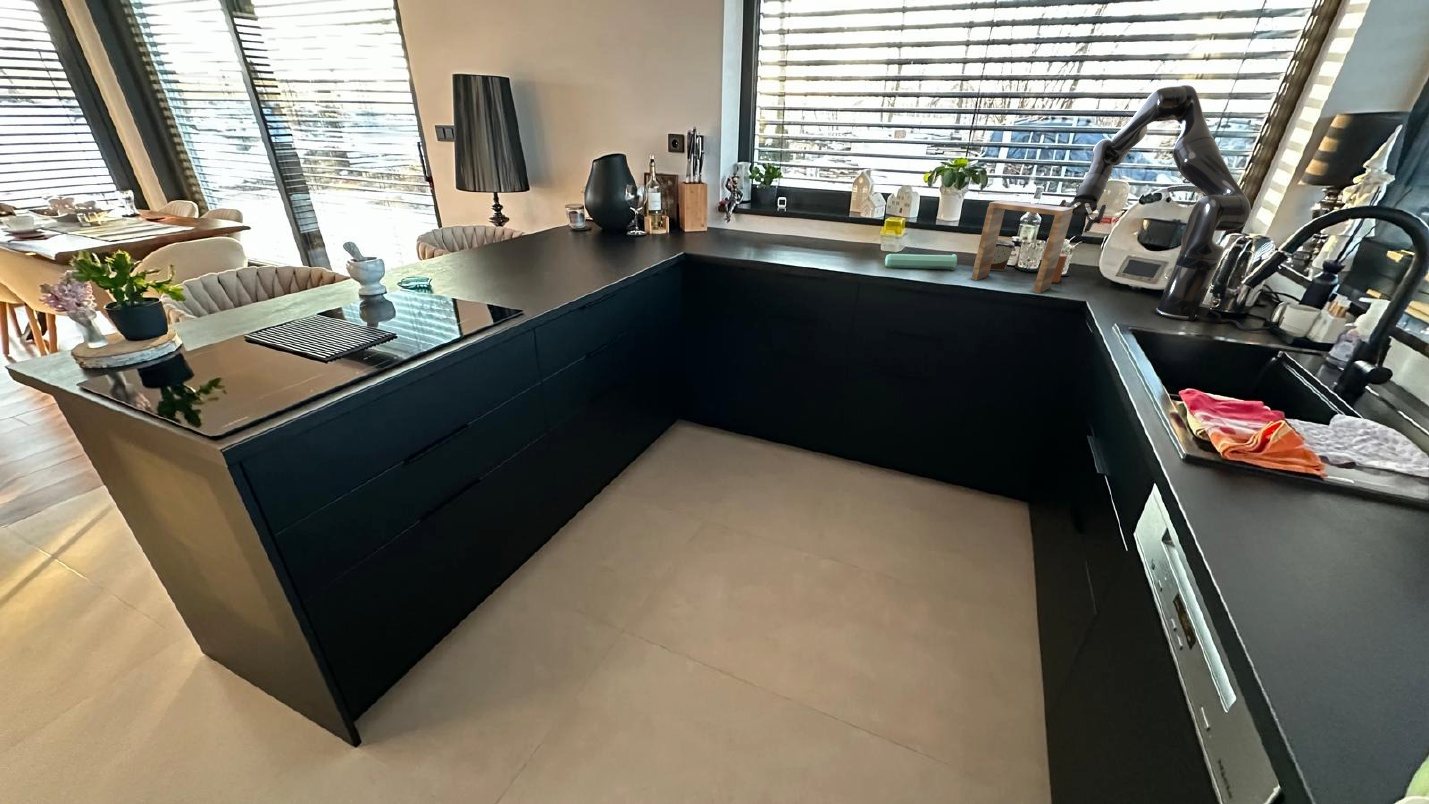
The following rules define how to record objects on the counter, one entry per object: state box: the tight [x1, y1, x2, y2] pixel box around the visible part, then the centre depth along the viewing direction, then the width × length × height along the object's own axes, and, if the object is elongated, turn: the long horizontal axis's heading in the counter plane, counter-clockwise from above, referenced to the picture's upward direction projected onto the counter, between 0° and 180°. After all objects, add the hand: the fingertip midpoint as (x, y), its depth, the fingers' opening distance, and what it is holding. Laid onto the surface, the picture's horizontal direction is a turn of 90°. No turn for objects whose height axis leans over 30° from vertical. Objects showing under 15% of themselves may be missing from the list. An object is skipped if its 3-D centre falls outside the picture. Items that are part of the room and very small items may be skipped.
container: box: [884, 253, 958, 271], centre depth 205 cm, size 6×6×25 cm
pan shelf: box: [970, 199, 1073, 294], centre depth 184 cm, size 22×10×26 cm, turn 44°
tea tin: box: [1051, 253, 1068, 284], centre depth 192 cm, size 5×5×9 cm
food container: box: [990, 239, 1016, 272], centre depth 207 cm, size 12×6×10 cm, turn 84°
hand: (1071, 229), depth 193 cm, fingers open, 8 cm apart
